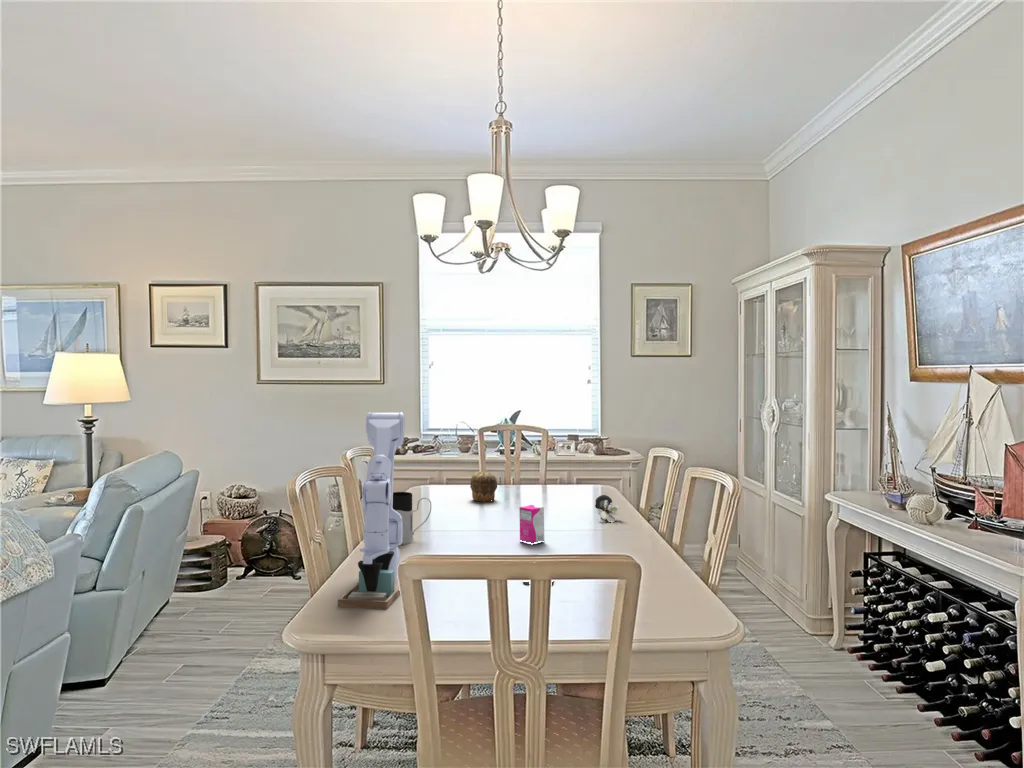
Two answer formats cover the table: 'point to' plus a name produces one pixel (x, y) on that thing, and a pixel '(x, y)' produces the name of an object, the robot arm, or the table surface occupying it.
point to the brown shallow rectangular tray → (346, 602)
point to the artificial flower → (605, 507)
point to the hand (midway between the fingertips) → (376, 586)
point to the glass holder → (406, 513)
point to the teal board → (380, 582)
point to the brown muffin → (483, 486)
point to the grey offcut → (367, 596)
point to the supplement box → (532, 523)
